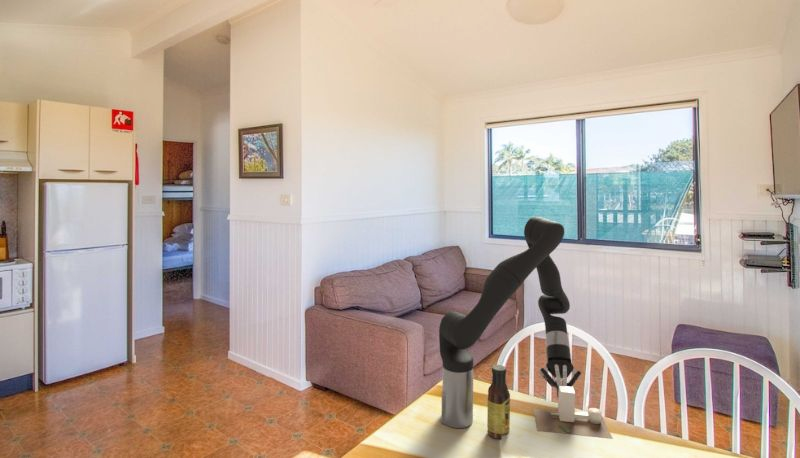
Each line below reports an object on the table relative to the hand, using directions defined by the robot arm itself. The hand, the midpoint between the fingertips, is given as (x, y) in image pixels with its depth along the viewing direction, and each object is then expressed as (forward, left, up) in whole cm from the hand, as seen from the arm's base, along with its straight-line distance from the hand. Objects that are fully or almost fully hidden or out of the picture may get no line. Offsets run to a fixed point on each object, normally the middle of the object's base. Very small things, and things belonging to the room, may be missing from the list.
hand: (562, 400), depth 135 cm
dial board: (+1, -8, -4) cm, 9 cm away
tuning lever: (+3, -6, -3) cm, 7 cm away
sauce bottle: (-20, -15, -5) cm, 25 cm away
